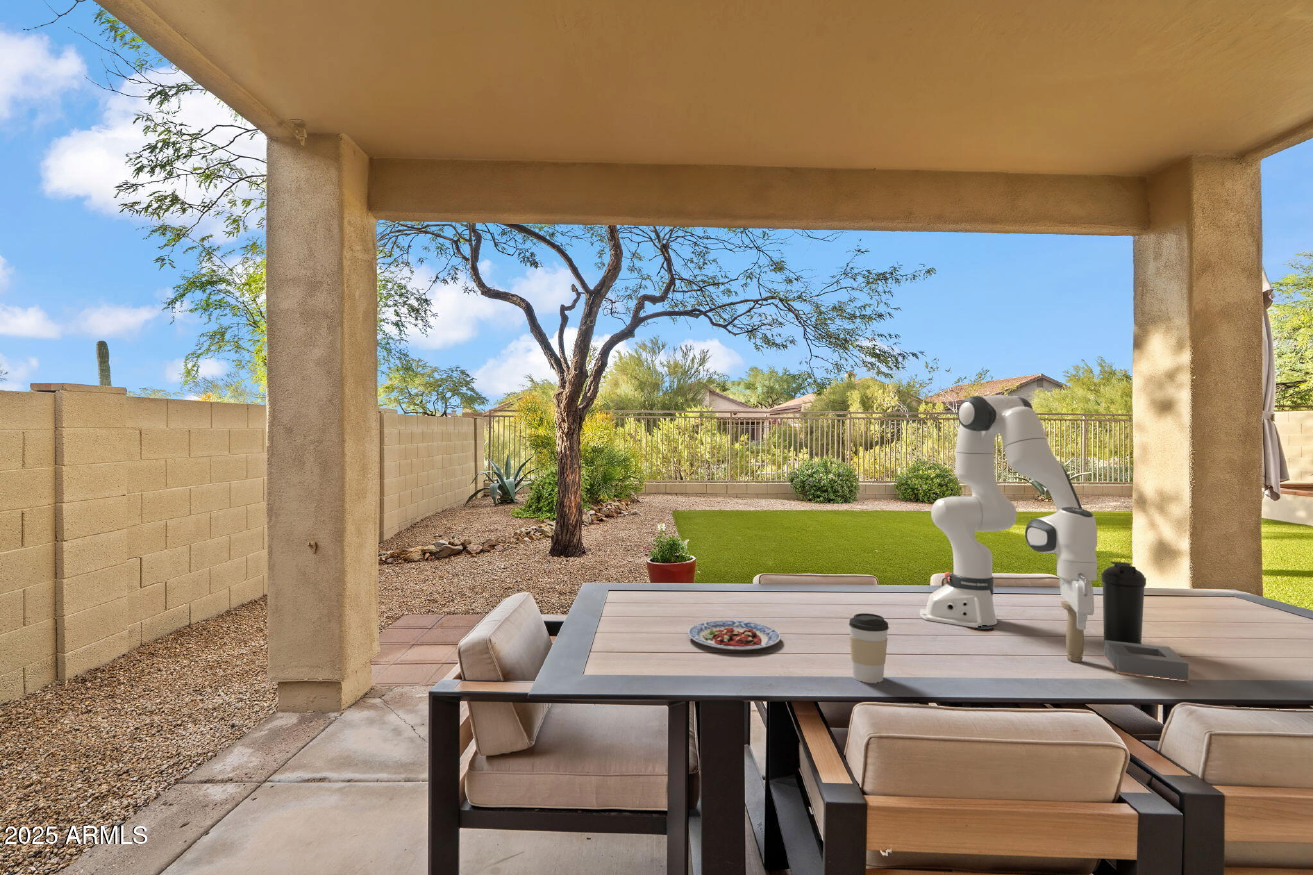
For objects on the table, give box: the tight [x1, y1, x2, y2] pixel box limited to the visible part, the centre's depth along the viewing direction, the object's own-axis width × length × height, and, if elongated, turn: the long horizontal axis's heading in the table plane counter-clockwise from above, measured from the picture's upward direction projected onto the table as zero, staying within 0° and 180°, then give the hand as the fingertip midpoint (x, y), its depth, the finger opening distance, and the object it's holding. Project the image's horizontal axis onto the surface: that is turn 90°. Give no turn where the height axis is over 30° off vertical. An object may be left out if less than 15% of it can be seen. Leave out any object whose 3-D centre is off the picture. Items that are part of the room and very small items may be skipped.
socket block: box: [1103, 640, 1189, 682], centre depth 165 cm, size 14×13×4 cm
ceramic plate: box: [688, 619, 782, 651], centre depth 185 cm, size 26×26×3 cm
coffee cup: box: [848, 612, 890, 684], centre depth 157 cm, size 9×9×15 cm
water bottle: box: [1100, 561, 1147, 646], centre depth 183 cm, size 10×10×23 cm
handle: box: [1060, 600, 1085, 663], centre depth 171 cm, size 5×6×15 cm
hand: (1076, 624), depth 170 cm, fingers open, 8 cm apart
